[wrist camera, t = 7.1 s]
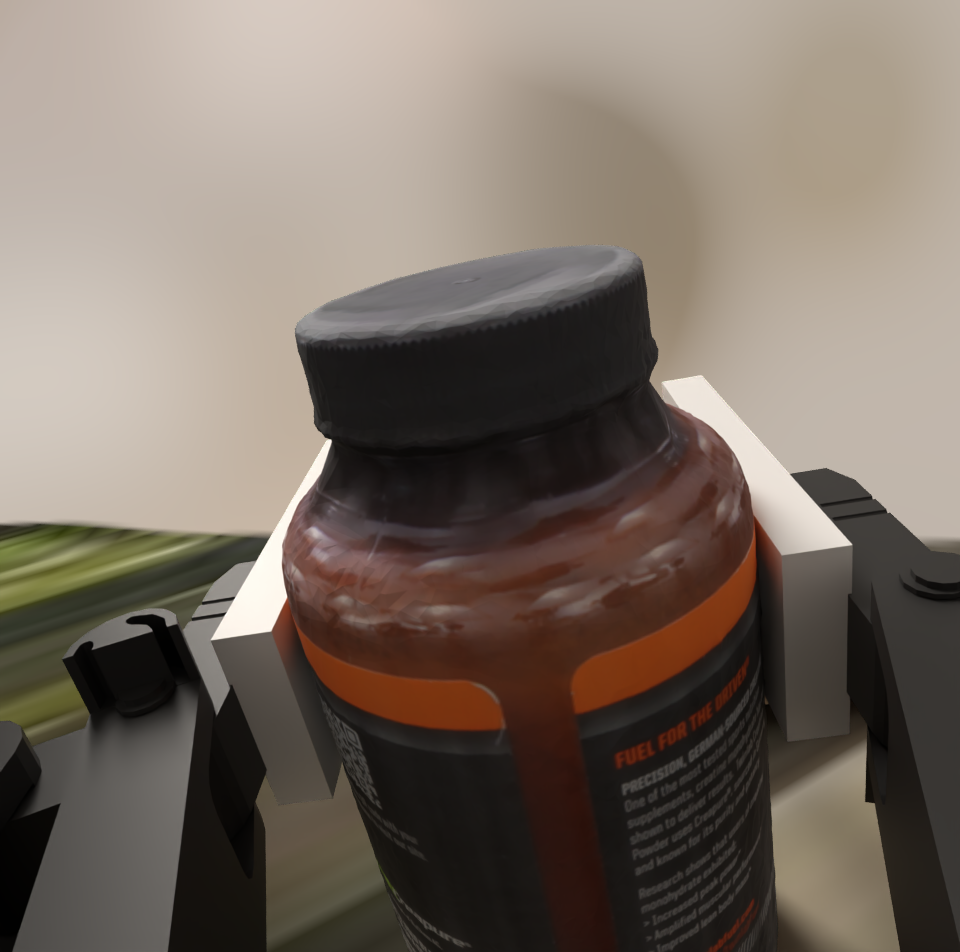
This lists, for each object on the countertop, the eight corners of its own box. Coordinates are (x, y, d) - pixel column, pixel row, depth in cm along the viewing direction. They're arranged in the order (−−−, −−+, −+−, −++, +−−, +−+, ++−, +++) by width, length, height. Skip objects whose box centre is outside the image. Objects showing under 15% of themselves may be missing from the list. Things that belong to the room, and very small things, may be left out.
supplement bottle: (792, 836, 14) (779, 201, 9) (758, 1240, 9) (698, 334, 5) (502, 773, 16) (383, 256, 12) (357, 1058, 12) (69, 376, 7)
